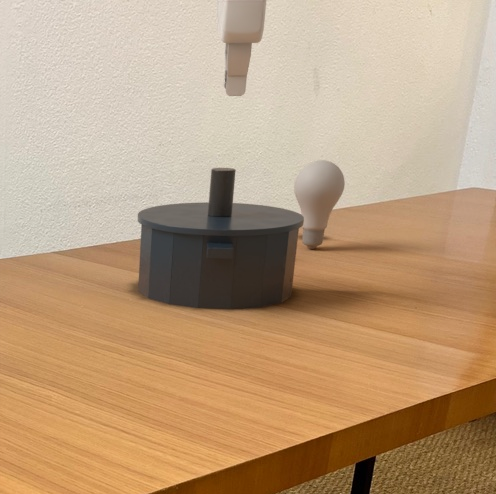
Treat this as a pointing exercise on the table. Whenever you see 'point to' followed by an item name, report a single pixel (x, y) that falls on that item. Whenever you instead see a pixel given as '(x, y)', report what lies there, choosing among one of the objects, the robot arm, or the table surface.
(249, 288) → the pot
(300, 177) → the lightbulb
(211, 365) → the table surface
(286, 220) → the pot lid
